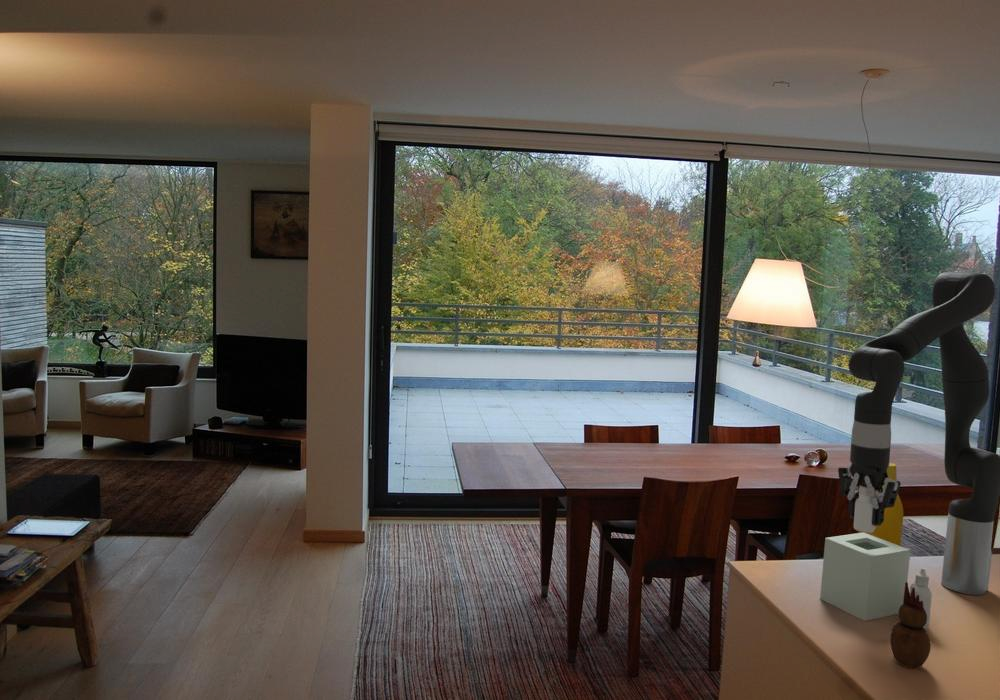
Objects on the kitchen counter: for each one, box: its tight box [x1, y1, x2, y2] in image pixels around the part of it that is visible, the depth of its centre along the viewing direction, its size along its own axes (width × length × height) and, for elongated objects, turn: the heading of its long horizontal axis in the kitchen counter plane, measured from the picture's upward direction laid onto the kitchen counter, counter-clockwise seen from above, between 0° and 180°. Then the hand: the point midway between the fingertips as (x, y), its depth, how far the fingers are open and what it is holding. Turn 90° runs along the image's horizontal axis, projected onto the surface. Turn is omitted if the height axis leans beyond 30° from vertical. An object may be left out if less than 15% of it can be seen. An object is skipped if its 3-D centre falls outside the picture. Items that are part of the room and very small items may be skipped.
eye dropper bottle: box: [909, 567, 933, 630], centre depth 166 cm, size 4×6×12 cm
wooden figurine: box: [889, 581, 932, 669], centre depth 148 cm, size 7×6×15 cm
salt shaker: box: [853, 485, 876, 533], centre depth 169 cm, size 4×4×10 cm
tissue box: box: [819, 532, 911, 622], centre depth 174 cm, size 12×12×14 cm
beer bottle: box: [857, 462, 904, 546], centre depth 187 cm, size 9×9×29 cm
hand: (865, 520), depth 169 cm, fingers closed on salt shaker, 5 cm apart
